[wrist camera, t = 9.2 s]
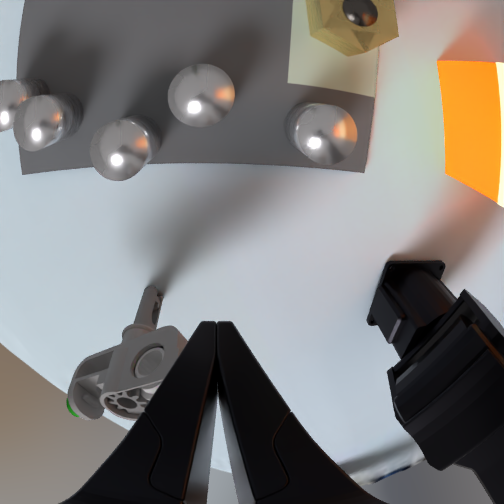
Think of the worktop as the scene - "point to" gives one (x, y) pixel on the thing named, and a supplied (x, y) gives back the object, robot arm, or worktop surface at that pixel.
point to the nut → (352, 24)
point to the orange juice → (474, 124)
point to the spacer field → (146, 130)
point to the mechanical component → (127, 367)
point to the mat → (180, 57)
